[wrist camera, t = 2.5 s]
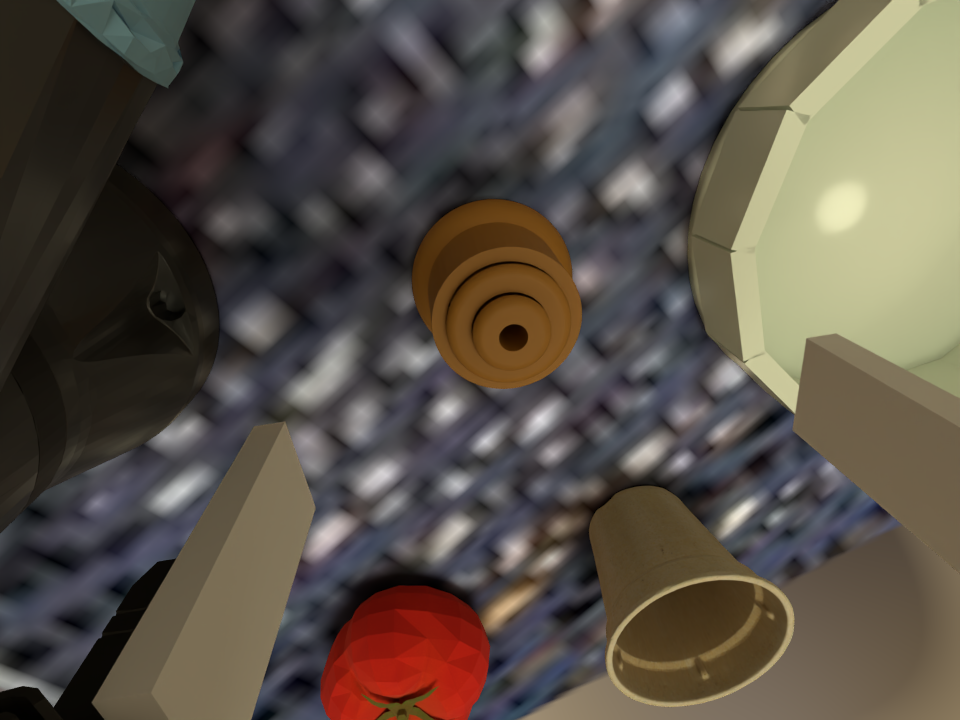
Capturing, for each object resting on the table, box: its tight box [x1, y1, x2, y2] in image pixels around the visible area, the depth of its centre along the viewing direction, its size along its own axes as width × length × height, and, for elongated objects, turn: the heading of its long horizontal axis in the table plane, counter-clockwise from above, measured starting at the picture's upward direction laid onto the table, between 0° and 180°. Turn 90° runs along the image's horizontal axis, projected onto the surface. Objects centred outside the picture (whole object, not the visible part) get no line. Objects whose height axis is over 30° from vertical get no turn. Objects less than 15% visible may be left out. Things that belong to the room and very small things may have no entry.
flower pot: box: [589, 486, 794, 707], centre depth 29 cm, size 9×9×9 cm
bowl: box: [687, 0, 960, 415], centre depth 23 cm, size 20×20×4 cm
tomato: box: [321, 586, 490, 720], centre depth 32 cm, size 10×11×6 cm
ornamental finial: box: [412, 199, 582, 389], centre depth 22 cm, size 8×8×8 cm
